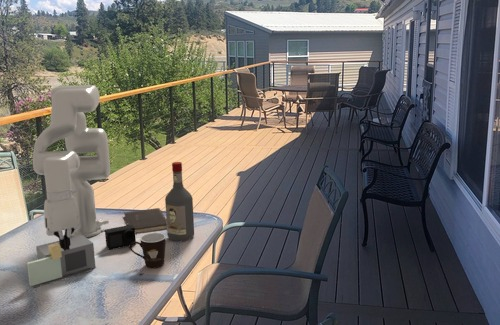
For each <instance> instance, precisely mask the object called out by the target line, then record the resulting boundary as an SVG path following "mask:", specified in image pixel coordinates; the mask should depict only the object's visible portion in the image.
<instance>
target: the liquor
mask: <svg viewBox="0 0 500 325" xmlns="http://www.w3.org/2000/svg"><path fill="white" fill-rule="evenodd" d="M171 166H172V169H171V170H172V179H173V180H172V181H173V185H172V187H171V190H170V191H169V192H168V193H167V194H166V195H165V198H164V199H165V200H164V202H165V204H164V205H165V218H166V221H167V229H166V234H167V237H168V240H170V241H173V240H174V241H175V242H178V243H179V242H180V241H182V242H186V240H187V241H189V240H190V239H191V237H192V238H193V237H194V236H195V222H194V219H195V218H194V204H193V203H194V201H193V200H194V199H193V196H192V194H191V192H189V191H188V190H187V189H186V188H185V187H184V183H183V163H182V162H181V161H173V162H171ZM189 238H190V239H189ZM188 239H189V240H188Z"/></svg>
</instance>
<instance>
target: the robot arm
mask: <svg viewBox="0 0 500 325" xmlns="http://www.w3.org/2000/svg"><path fill="white" fill-rule="evenodd" d="M50 98H51V112H50V125H48V126H47V127H46V128H44V129H43V131H42V132H41V133H40V134H39V136H37V138H36V140H35V143H34V145H33V154H32V167H33V168H32V169H33V170H34V172H35V174H37V175H41V176H44V179H45V180H44V182H45V188H46V199H44V205H43V206H44V207H43V221H44V228H45V229H46V232H45V234H46V236H54V237H57V238H58V241H59V243H60V246H61V248H62V249H63V250H64V251H65V250H69V249H70V247H69V246H70V245H71V244H70V238H72V237H76V236H80V235H83V236H84V237H86V238H91V237H95V236H97V235H99V234H101V232H102V226H105V225H109V219H103V218H101V219H98V218H97V213H96V211H97V210H96V200H95V199H96V198H95V191H94V188H93V186H92V184H90V183H89V182H88V181H93V180H94V181H95V180H97V181H98V180H105V179H108V178H109V177H110V174H111V162H110V160H111V159H110V151H109V150H110V148H109V140H108V135H107V132H106V131H105V130H104V128H98V127H93V128H92V127H91V128H89V127H88V126H87V117H86V114H85V113H90V112H91V113H92V112H94V111H95V110H96V109H97V107H98V106H99V104H100V98H101V97H100V92H99V89H98V87H97V86H96V85H95V84H85V85H84V84H83V85H80V84H79V85H62V86H55V87H53V88H52V89H51V90H50ZM60 140H64V143H65V148H66V150H57V151H56V150H54V151H53V150H52V151H46V150H47V149H48V148H49V147H50V146H51V145H52V144H54V143H56V142H59V141H60ZM89 153H90V154H93V153H94V154H96V155H78V154H89ZM63 231H64V233H63Z"/></svg>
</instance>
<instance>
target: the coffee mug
mask: <svg viewBox="0 0 500 325" xmlns="http://www.w3.org/2000/svg"><path fill="white" fill-rule="evenodd" d="M166 238H167V237H166V235H165V234H164V233H162V232H150V233H146V234H143V235H142V236H141V237H140V239H139V240H140V241H139V242H138V241H136V242H133V243H131V245H130V246H129V250H130V251H131V252H132V253H133V254H135V255H136V256H138V257H139V258H142V259H143V260H144V264H145V267H146V268H148V269H159V268H161V267H164V266H165V258H166V254H165V253H166ZM133 244H136V245H139V246H140V248H141V250H142V254H139V253H137V252H135V250H133V248H132V246H134V245H133Z"/></svg>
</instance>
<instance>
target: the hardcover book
mask: <svg viewBox="0 0 500 325" xmlns="http://www.w3.org/2000/svg"><path fill="white" fill-rule="evenodd" d="M123 215H124V217H125V219H126V222H127V225H132V226H133V227H134V228H135V234H139V233H143V232H144V233H146V232H151V231H157V230H164V229H165V230H167V229H166V228H167V221H166V215H164V213H163V212H162V210H161V208H159V207H157V208H149V209H148V208H147V209H141V210H133V211H126V212H125V211H124V212H123Z"/></svg>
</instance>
